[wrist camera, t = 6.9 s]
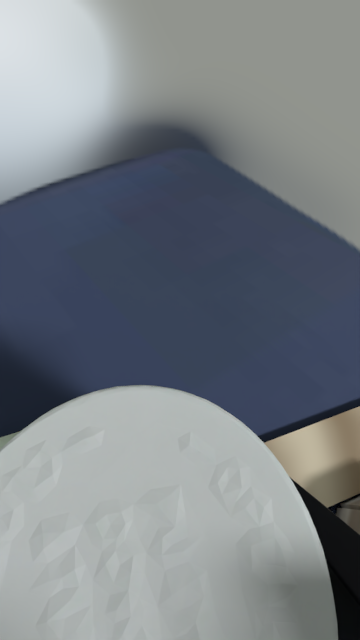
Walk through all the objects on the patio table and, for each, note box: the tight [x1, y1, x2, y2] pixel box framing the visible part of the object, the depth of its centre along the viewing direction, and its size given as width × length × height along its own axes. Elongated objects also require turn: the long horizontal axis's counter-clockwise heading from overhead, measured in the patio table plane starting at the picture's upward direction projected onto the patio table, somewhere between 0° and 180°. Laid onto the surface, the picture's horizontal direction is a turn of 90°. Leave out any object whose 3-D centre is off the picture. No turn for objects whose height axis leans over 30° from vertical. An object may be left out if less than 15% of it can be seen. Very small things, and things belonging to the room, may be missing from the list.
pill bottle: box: [0, 385, 338, 640], centre depth 8 cm, size 6×6×11 cm
